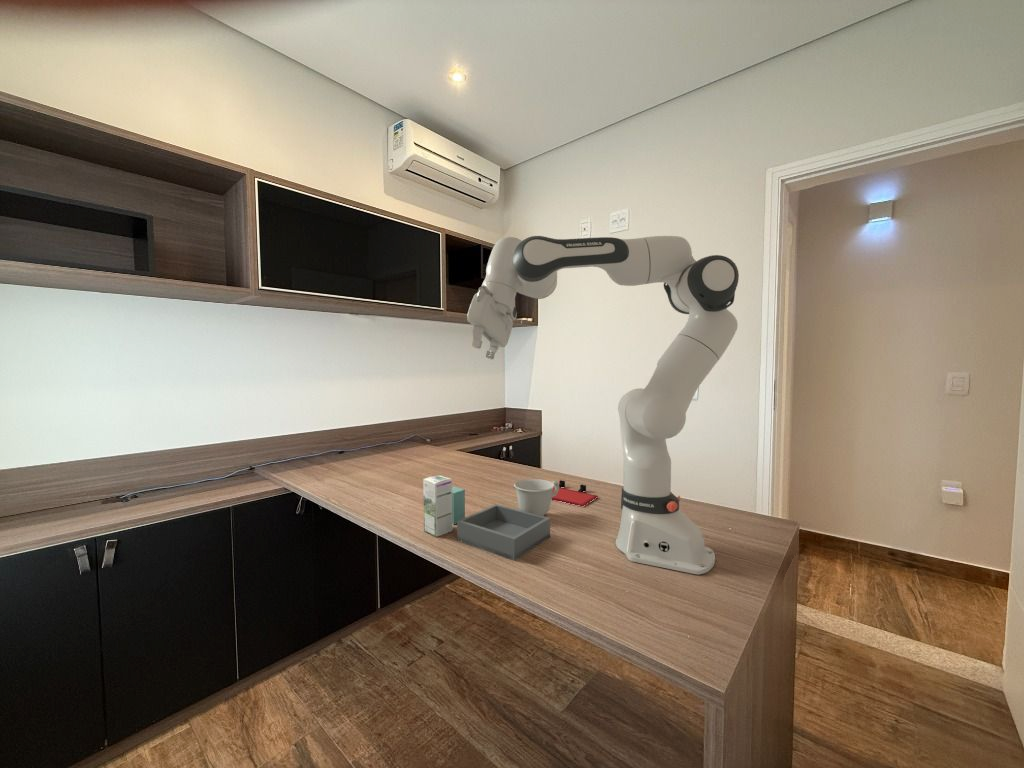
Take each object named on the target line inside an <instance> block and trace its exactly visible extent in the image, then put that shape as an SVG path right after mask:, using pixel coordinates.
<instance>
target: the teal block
mask: <svg viewBox="0 0 1024 768" xmlns="http://www.w3.org/2000/svg"><path fill="white" fill-rule="evenodd" d="M465 491H466V489H464V488H459V487H457V486H452V524H453V525H452V526H455V525H457V524H456V523H457V521H458V520H461V519H463V518H465V517H466V492H465ZM454 524H455V525H454Z"/></svg>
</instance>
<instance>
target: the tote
mask: <svg viewBox="0 0 1024 768" xmlns="http://www.w3.org/2000/svg"><path fill="white" fill-rule="evenodd" d="M549 538H551V518H550V517H548V516H545V515H544V516H540V515H536V514H532V513H529V512H525V511H521V510H520V509H516V508H513V507H509V506H505V505H503V504H502V505H501V504H497V503H495V504H492V505H490V506H488V507H486V508H484V509H482V510H479V511H477V512H475V513H472V514H470V515H468V516H465V518H463V519H461V520H458V521H457V524H456V540H457V541H458V540H459V541H458V542H460V541H462V542H461V543H463V542H464V544H466V543H467V544H466V545H469V546H472V545H473V546H472V547H475V548H477V547H478V549H480V548H481V550H483V549H484V550H483V551H486V552H489V553H491V552H492V554H495V555H498V556H500V557H503V558H506V559H509V560H511V561H516V560H517V559H520V557H522V556H523V555H525V554H526V553H528V552H530V551H531V550H533V549H534V548H536V547H538V545H541V544H542V543H543V542H545V541H547V540H548V539H549Z"/></svg>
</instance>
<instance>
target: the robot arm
mask: <svg viewBox="0 0 1024 768" xmlns="http://www.w3.org/2000/svg"><path fill="white" fill-rule="evenodd" d="M487 261H488V262H487V263H486V269H485V273H486V274H485V278H484V280H483V282H482V284H481V286H480V287H478V290H477V292H476V293H475V294H474V295H473V298H472V300H471V303H470V304H469V308H468V311H467V317H466V319H467V322H468V323H469V324H470V325H472V327H473V328H472V343H471V346H472V347H473V348H475V349H479V350H480V349H481V348H482V344H483V341H482V338H483V337H484V338H485V339H487V341H489V349H488V350H487V351H486V354H485V357H486V358H487V360H494V359H495V355H496V353H497V352H498V350H499V348H505V347H506V346H507V345H508V343H509V340H510V336H511V333H512V330H513V324H514V321H516V319H517V314H518V311H517V310H516V296H517V293H518V294H520V295H523V296H525V297H527V298H531V299H535V300H543V299H546V298H547V297H549V296H550V295H552V294H553V292H554V291H555V290H556V288H557V284H558V271H560V270H563V269H575V268H577V269H578V268H579V269H580V268H589V267H593V268H598V269H599V268H600V269H602V270H603V271H605V272H606V274H607V275H608V277H609V279H611V281H612V282H614V283H615V284H617V285H619V286H624V287H625V286H628V287H631V286H632V287H635V286H642V285H643V286H644V285H649V284H650V285H651V284H656V283H663V289H664V291H665V293H666V294H667V298H668V303H669V305H670V306H671V307H672V308H673V310H675V311H676V312H677V313H680V314H683V315H688V318H687V321H686V323H685V325H684V326H683V328H682V329H681V330H680V331H679V333H678V334H677V335H676V337H675V338H674V339H673V341H672V342H671V343H670V345H668V347H667V349H666V350H665V351H664V353H663V354H662V355H661V357H660V358H659V359H658V360H657V363H656V368H655V369H654V371H653V373H652V376H651V378H650V380H649V381H648V383H647V385H645V387H644V388H639V387H638V388H635V389H632V390H629V391H627V392H626V393H624V395H623V396H622V397H621V398H620V400H619V402H618V405H617V411H618V415H619V416H618V417H619V427H620V436H621V445H622V451H623V452H622V453H623V454H622V455H623V480H622V481H623V482H622V483H623V486H622V488H621V493H620V510H621V518H620V525H619V530H618V534H617V536H616V540H615V546H616V548H617V549H618V550H619V551H620V552H622V553H623V554H624V555H625V556H626V558H627V559H628V560H629V561H630V562H632V563H633V562H634V563H639V564H645V565H648V566H653V567H659V568H664V569H668V570H673V571H678V572H683V573H686V574H693V575H703V574H706V573H708V572H710V570H712V569H713V568H714V567H715V564H716V555H715V552H714V550H713V549H712V548H711V547H708V546H706V544H705V539H704V535H703V531H702V530H701V528H700V526H699V525H698V524H696V523H695V522H694V521H692V520H691V519H690V518H689V517H688V516H687V515H686V514H684V513H683V512H682V511H681V510H680V502H681V496H680V495H678V496H676V495H675V494H673V493H672V491H671V487H672V485H671V484H672V459H671V456H670V454H669V451H668V446H667V439H671V438H673V437H675V436H677V435H678V434H679V433H681V431H682V430H683V429H684V427H685V424H686V421H687V420H686V419H687V412H688V409H689V407H690V405H691V403H692V400H693V398H694V396H695V394H696V393H697V391H698V389H699V387H700V385H701V384H702V383H703V382H704V380H705V379H706V377H707V376H708V375H709V374H710V373H711V371H712V369H714V368H715V366H716V364H717V363H718V362H719V361H720V360H721V358H722V356H723V355H724V354H725V352H726V350H727V349H728V347H729V345H730V344H731V342H732V340H733V338H734V337H735V335H736V332H737V330H738V326H739V325H738V320H737V317H736V316H735V315H734V314H733V313H732V312H731V311H730V310H729V309H728V308H729V307H731V306H732V305H733V304H734V301H735V296H736V290H737V287H738V283H739V280H740V279H739V277H740V275H739V269H738V266H737V265H736V263H735V262H734V261H733V260H732V259H731V258H729V257H727V256H724V255H720V254H716V255H714V254H713V255H708V256H705V257H702V258H700V259H699V260H696V259H695V258H694V257H693V252H692V247H691V244H690V243H689V241H688V240H687V239H686V238H684V237H683V236H677V235H653V236H646V237H638V238H627V239H624V238H618V237H610V236H609V237H607V236H605V237H602V236H601V237H583V238H563V239H561V238H552V237H547V236H543V235H532V236H529V237H527V238H524V239H523V240H522V239H519V238H518V237H512V236H507V237H502V238H500V239H499V240H497V242H496V243H495V244H494V245H493V248H492V250H491V252H490V255H489V257H488V260H487Z"/></svg>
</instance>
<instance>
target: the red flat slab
mask: <svg viewBox="0 0 1024 768" xmlns="http://www.w3.org/2000/svg"><path fill="white" fill-rule="evenodd" d="M558 484H559V491H558V493H557V495H556V496H554V497H553V498H552V500H551V501H553V500H557V501H562V502H566V503H570V504H569V505H571V504H575V505H580V506H584V505H586V504H587V503H589V502H590V501H592V500H593V499H595V498H596V497H598V498H599V495H596V494H592V493H587V485H586V484H583V483H582V484H580V485H579V490H573V489H569V488H566V481H565V480H561V479H560V480H559V482H558ZM561 487H565V488H561ZM554 490H555V487H554V488H553V490H552V493H553V492H554ZM583 491H586V492H585V493H584V492H583ZM557 501H556V502H557ZM562 502H561V503H562ZM592 502H593V501H592ZM566 503H565V504H566ZM589 504H590V503H589ZM575 505H574V506H575ZM586 506H587V505H586Z"/></svg>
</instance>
